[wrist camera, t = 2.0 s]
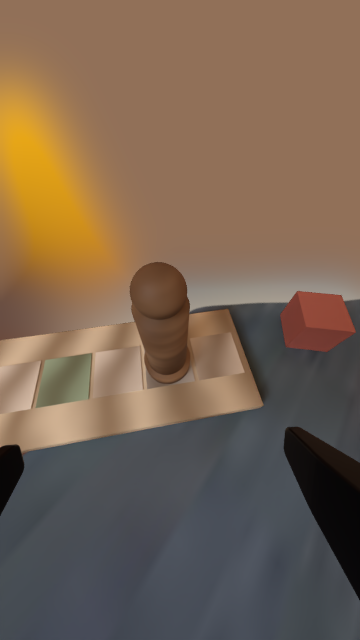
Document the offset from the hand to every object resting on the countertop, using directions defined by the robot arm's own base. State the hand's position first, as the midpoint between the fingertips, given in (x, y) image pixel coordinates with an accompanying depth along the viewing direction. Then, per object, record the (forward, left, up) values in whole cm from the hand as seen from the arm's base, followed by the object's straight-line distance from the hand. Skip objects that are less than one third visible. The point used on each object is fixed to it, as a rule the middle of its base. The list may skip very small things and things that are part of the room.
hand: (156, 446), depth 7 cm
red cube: (-8, -17, -13) cm, 23 cm away
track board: (+8, -3, -13) cm, 15 cm away
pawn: (+4, -6, -11) cm, 14 cm away
